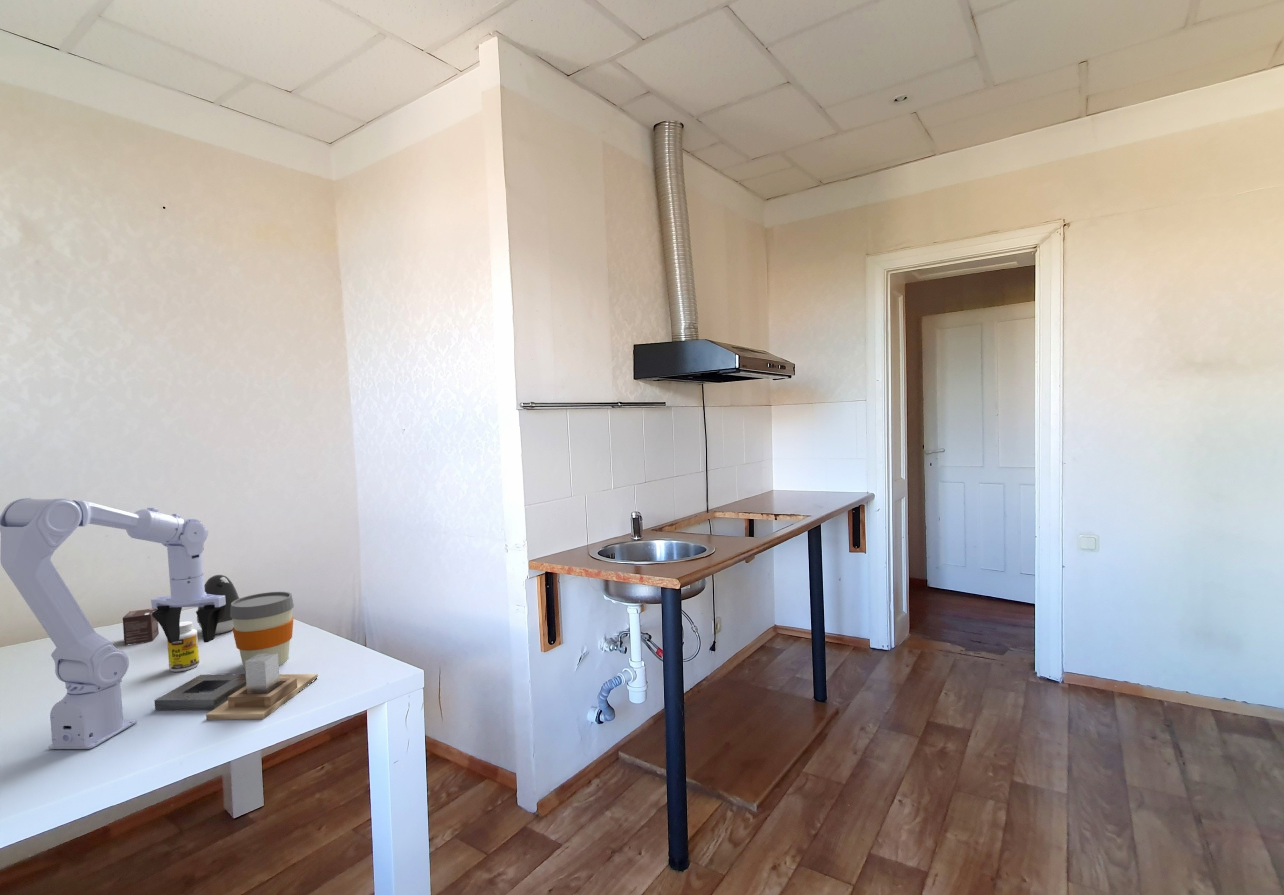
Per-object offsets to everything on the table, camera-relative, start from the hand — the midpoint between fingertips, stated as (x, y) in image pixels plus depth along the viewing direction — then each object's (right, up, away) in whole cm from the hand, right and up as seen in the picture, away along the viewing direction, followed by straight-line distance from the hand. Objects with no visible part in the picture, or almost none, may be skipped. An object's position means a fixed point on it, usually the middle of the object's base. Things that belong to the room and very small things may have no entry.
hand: (191, 641), depth 131 cm
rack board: (+18, -10, -4) cm, 21 cm away
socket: (+5, -10, -3) cm, 12 cm away
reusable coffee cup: (+7, -10, +14) cm, 19 cm away
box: (-37, -10, +34) cm, 51 cm away
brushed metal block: (+19, -9, -6) cm, 22 cm away
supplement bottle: (-11, -10, +13) cm, 20 cm away
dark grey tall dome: (-20, -9, +39) cm, 44 cm away
